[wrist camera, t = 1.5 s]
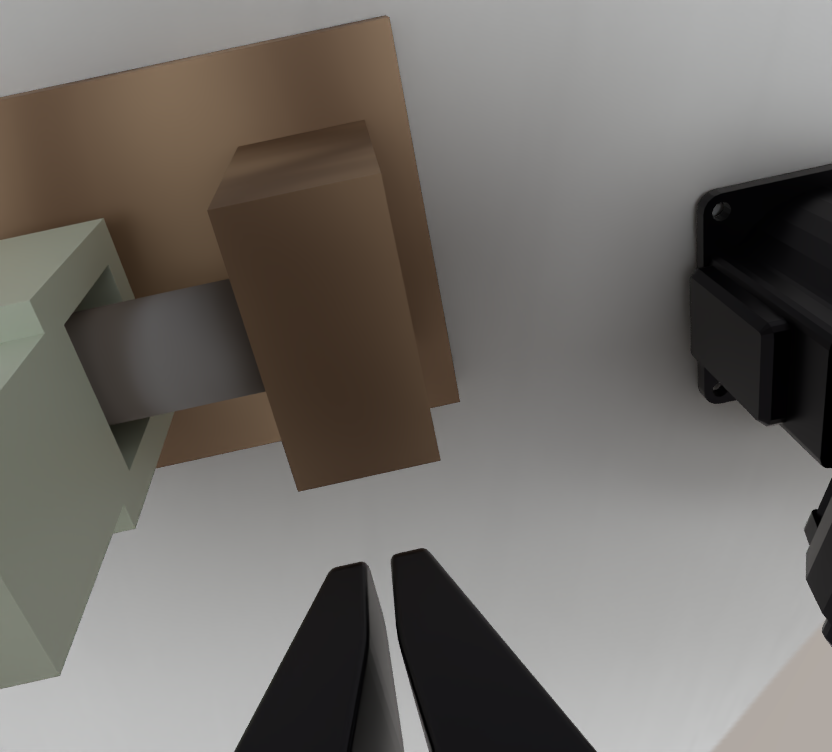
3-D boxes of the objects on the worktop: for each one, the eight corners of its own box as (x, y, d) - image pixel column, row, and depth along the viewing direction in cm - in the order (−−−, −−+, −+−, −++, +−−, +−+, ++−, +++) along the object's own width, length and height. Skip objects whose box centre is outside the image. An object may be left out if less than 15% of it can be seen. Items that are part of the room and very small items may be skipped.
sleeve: (103, 218, 17) (-87, 428, 9) (176, 404, 19) (76, 704, 11) (-33, 246, 17) (-344, 485, 9) (56, 430, 19) (-127, 749, 11)
